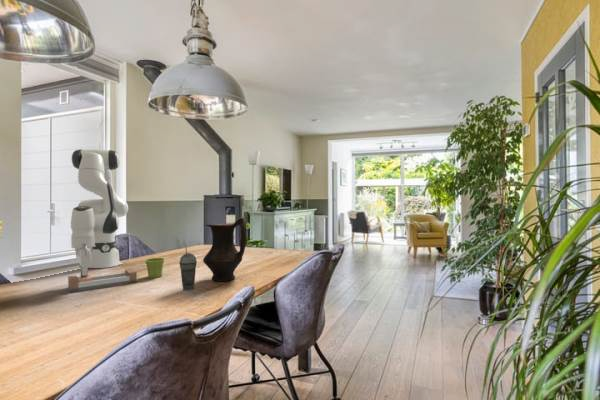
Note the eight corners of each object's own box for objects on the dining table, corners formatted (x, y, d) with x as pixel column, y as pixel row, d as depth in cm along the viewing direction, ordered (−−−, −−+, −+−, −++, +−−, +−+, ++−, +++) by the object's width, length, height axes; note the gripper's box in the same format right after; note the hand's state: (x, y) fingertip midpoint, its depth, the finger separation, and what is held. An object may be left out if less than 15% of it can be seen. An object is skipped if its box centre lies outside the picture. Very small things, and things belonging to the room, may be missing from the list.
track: (68, 287, 153) (68, 276, 153) (132, 278, 168) (131, 268, 168) (69, 292, 145) (69, 280, 145) (136, 282, 161) (136, 271, 160)
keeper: (77, 283, 153) (76, 263, 153) (90, 281, 156) (89, 262, 156) (78, 286, 148) (78, 266, 148) (91, 284, 151) (91, 264, 151)
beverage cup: (191, 292, 144) (191, 244, 144) (176, 291, 145) (175, 244, 145) (200, 287, 151) (199, 242, 151) (185, 286, 152) (184, 241, 152)
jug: (195, 283, 158) (195, 218, 157) (213, 274, 176) (212, 216, 176) (239, 285, 154) (238, 218, 154) (252, 275, 172) (251, 216, 172)
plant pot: (151, 279, 166) (150, 262, 165) (141, 277, 171) (140, 259, 171) (168, 276, 173) (168, 259, 173) (158, 273, 179) (158, 257, 179)
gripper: (94, 244, 145) (95, 277, 146) (88, 240, 162) (89, 269, 162) (77, 246, 142) (77, 279, 142) (72, 241, 158) (73, 271, 158)
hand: (83, 274), depth 152 cm, fingers closed on keeper, 3 cm apart
